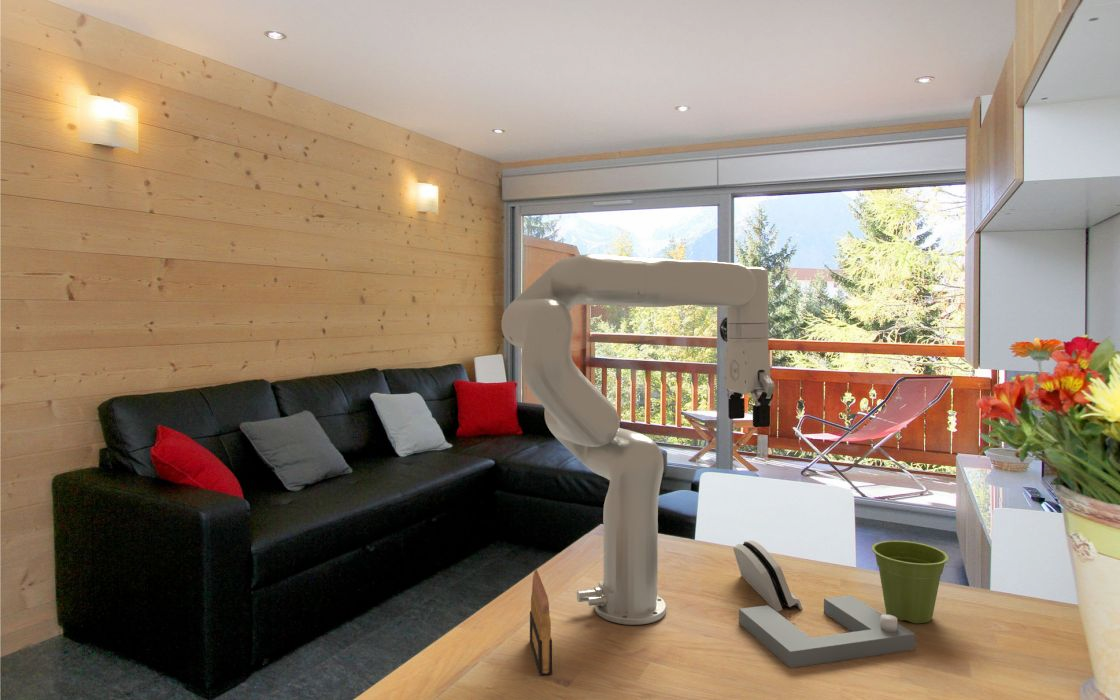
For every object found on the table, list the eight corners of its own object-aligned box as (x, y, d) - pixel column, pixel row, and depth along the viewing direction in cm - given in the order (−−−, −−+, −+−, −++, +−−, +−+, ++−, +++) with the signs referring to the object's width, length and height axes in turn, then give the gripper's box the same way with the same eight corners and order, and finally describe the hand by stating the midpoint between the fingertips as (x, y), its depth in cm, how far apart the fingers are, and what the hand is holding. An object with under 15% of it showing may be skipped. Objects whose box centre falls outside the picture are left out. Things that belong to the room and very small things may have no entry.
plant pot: (891, 595, 126) (893, 535, 125) (959, 618, 116) (961, 554, 115) (856, 611, 119) (858, 548, 118) (925, 637, 109) (927, 569, 109)
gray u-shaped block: (790, 668, 100) (790, 639, 100) (738, 623, 114) (739, 598, 114) (914, 649, 105) (915, 622, 105) (850, 608, 120) (851, 585, 120)
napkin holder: (552, 675, 98) (552, 594, 97) (539, 676, 98) (539, 595, 97) (541, 640, 109) (540, 566, 108) (529, 641, 108) (529, 567, 108)
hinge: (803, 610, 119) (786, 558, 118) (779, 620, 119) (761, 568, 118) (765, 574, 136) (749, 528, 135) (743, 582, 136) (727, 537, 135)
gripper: (709, 332, 135) (710, 416, 137) (752, 335, 119) (752, 431, 120) (744, 330, 137) (744, 414, 138) (790, 333, 120) (791, 429, 121)
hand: (748, 422), depth 129 cm, fingers open, 9 cm apart
